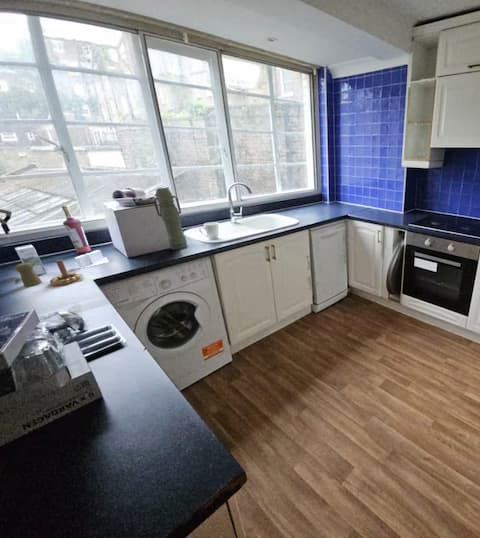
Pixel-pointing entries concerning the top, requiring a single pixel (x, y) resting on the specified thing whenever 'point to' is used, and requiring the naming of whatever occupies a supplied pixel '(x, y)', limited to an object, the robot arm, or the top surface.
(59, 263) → the stand
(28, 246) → the syrup box
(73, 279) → the brass hoop
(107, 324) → the top surface
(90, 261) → the napkin holder
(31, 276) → the cork
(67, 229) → the liquor
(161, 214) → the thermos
